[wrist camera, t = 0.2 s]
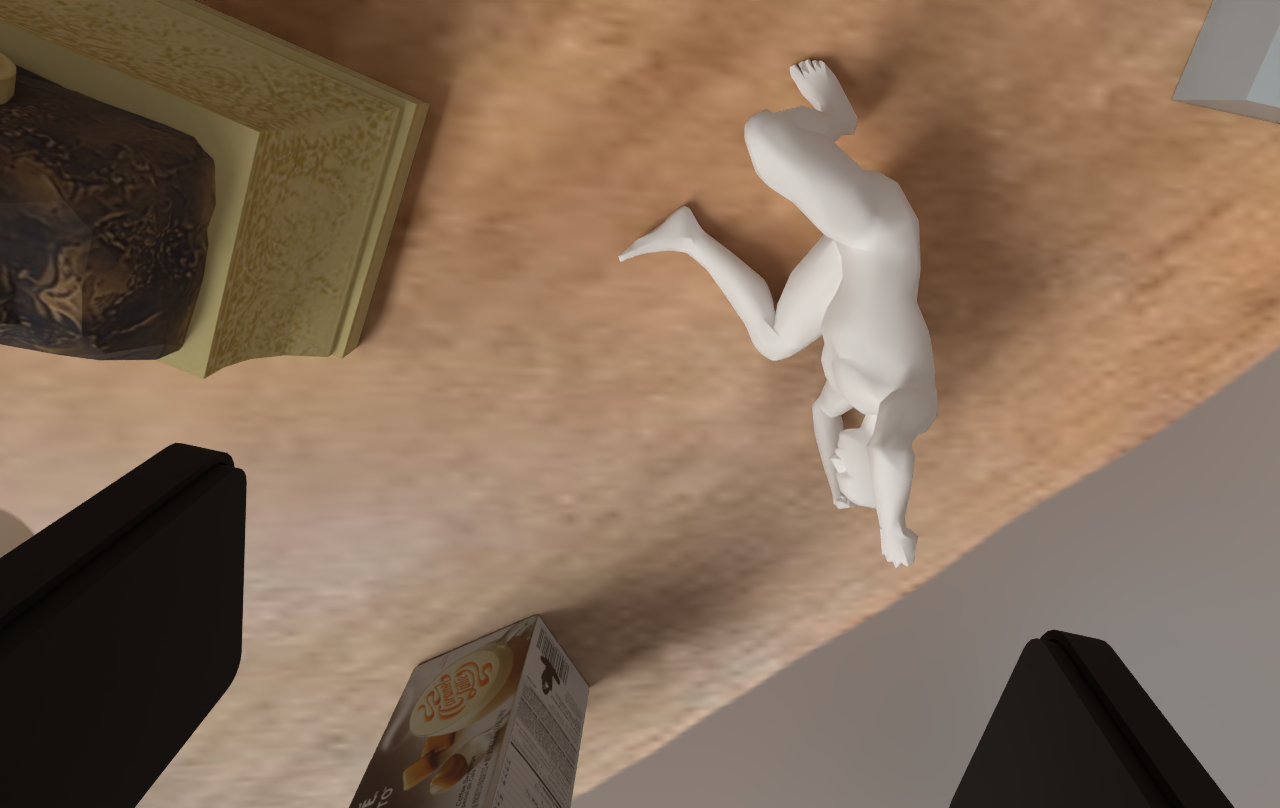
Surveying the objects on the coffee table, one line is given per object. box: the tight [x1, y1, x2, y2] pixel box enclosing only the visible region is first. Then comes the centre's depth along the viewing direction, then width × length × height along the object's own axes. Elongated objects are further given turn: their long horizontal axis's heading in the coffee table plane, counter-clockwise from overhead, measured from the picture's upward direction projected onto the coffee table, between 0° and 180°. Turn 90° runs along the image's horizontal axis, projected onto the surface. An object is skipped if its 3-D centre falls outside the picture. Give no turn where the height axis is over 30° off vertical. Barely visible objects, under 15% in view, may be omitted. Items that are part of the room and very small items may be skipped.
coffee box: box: [349, 615, 589, 808], centre depth 41 cm, size 9×6×16 cm
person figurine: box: [618, 59, 938, 568], centre depth 34 cm, size 13×13×18 cm
